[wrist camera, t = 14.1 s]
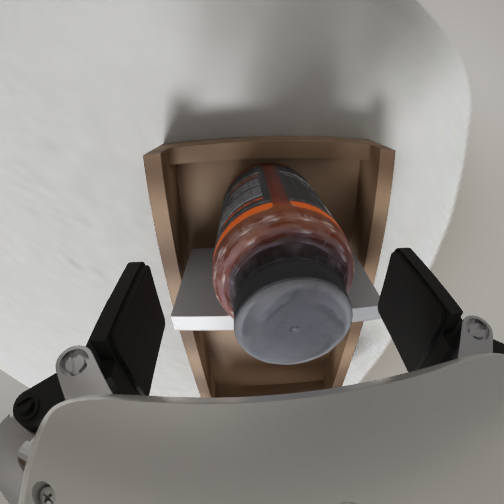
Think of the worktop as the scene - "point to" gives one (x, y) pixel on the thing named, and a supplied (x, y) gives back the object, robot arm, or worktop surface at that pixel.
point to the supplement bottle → (282, 267)
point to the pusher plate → (216, 318)
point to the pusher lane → (206, 228)
